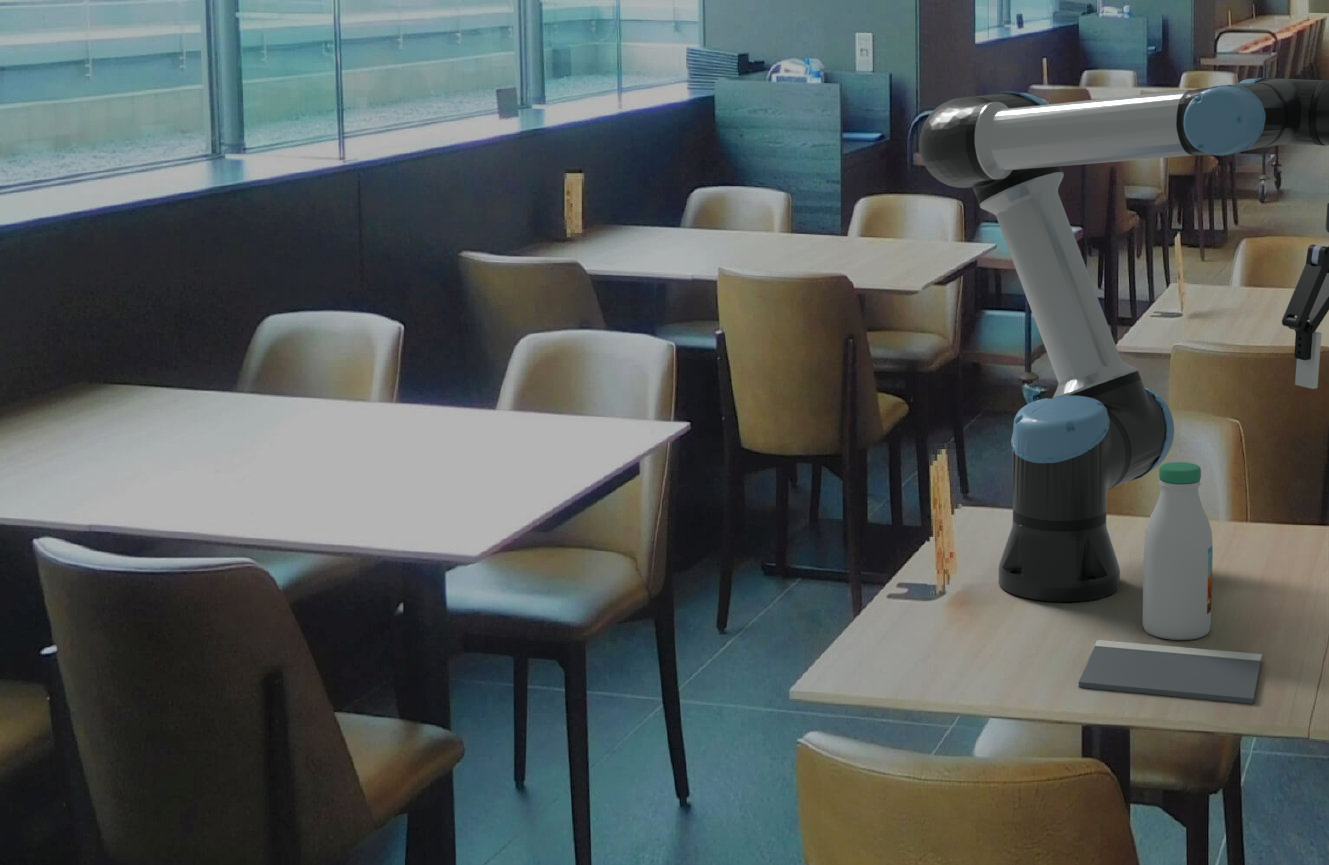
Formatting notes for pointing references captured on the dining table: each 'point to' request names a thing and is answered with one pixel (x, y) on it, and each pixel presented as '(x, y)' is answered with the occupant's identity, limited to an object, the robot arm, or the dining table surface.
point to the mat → (1172, 671)
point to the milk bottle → (1178, 558)
